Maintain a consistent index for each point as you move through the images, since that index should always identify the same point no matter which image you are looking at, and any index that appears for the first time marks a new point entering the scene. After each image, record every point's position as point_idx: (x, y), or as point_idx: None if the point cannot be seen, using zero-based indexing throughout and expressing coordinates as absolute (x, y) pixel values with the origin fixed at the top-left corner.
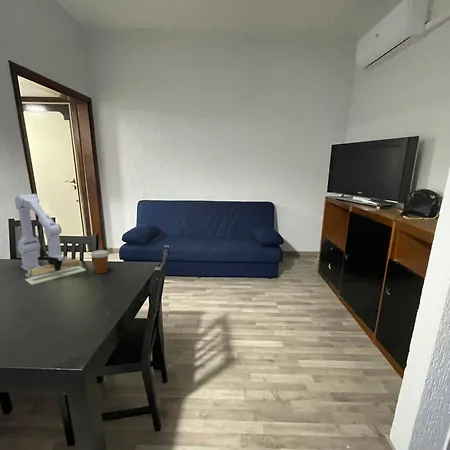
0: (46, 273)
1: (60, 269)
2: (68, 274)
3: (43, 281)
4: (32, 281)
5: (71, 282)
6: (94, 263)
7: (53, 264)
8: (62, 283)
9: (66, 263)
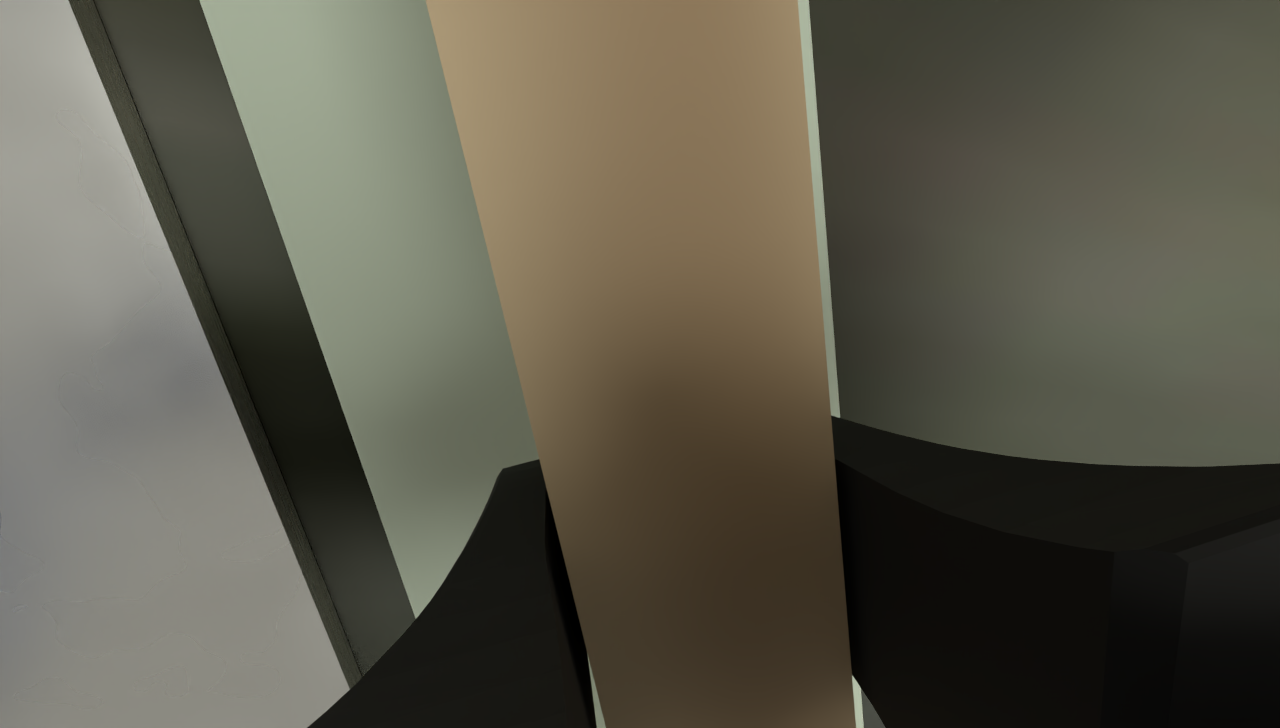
0: (339, 644)
1: (184, 276)
2: (813, 147)
3: (852, 681)
4: None
5: (1273, 203)
6: None
7: (678, 721)
8: (1180, 373)
9: (792, 162)
